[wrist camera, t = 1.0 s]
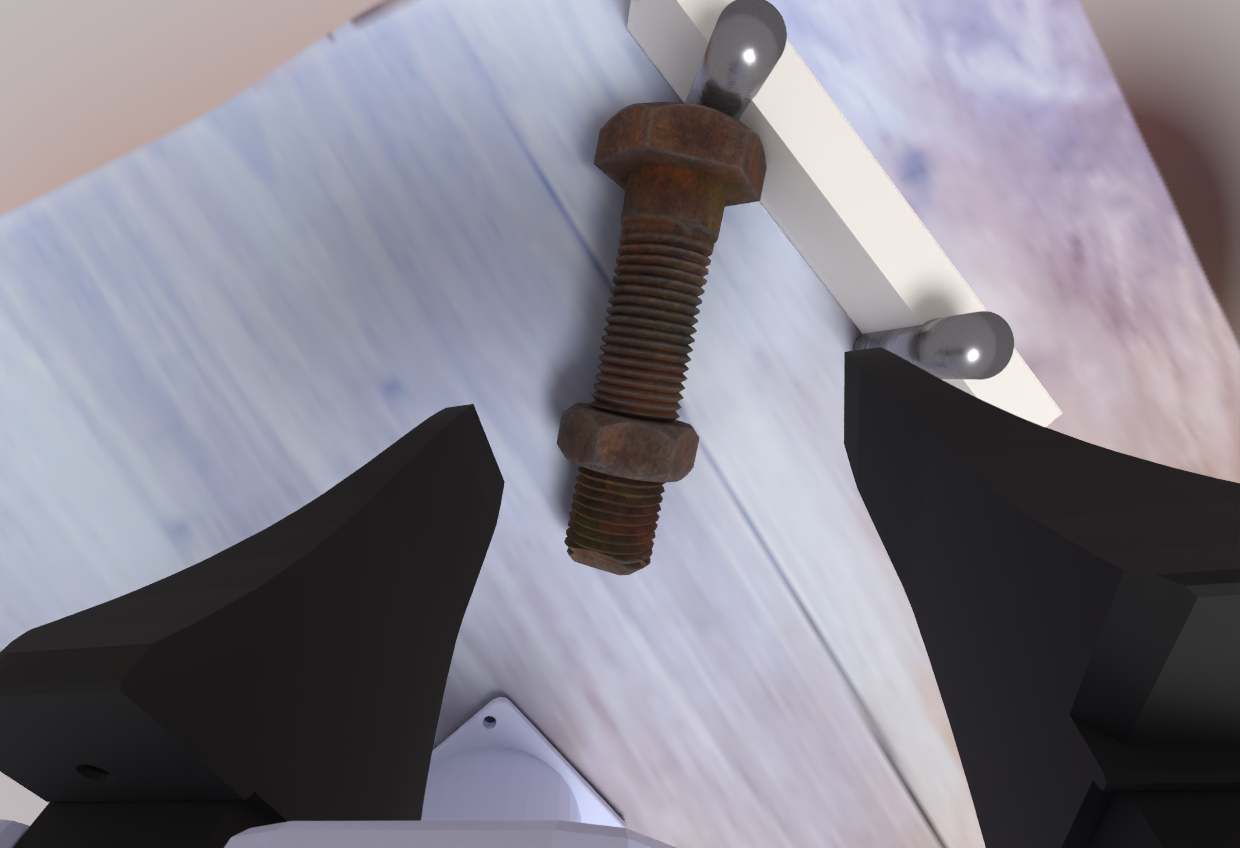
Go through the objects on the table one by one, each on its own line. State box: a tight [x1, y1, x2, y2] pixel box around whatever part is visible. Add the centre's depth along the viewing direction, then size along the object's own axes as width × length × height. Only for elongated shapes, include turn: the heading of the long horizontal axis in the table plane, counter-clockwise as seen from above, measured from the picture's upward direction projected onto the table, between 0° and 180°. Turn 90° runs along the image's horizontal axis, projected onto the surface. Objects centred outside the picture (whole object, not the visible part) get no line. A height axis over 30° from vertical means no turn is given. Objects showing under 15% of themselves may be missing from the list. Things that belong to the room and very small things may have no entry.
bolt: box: [557, 102, 767, 575], centre depth 20 cm, size 6×5×15 cm
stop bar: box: [627, 0, 1062, 427], centre depth 19 cm, size 3×20×6 cm, turn 40°
